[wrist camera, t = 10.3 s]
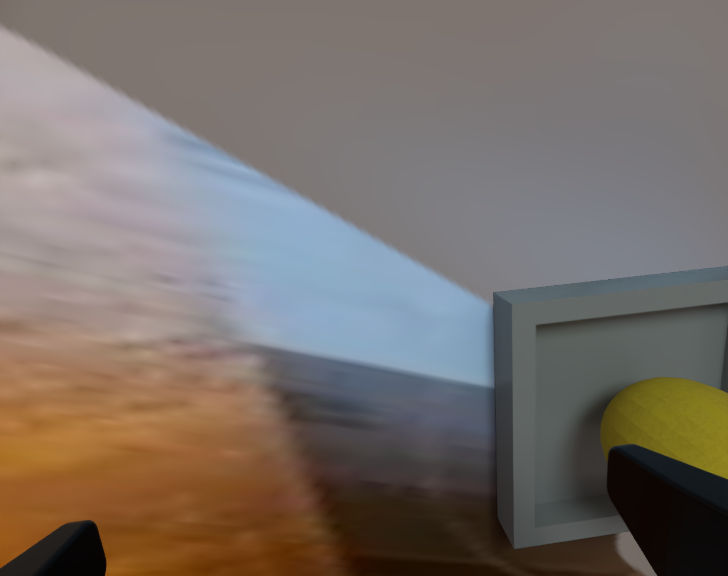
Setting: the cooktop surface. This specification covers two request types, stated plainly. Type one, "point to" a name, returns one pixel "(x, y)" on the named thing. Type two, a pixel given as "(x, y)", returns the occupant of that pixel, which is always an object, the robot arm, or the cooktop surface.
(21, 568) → the robot arm
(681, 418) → the lemon
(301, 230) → the cooktop surface
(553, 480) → the dish
